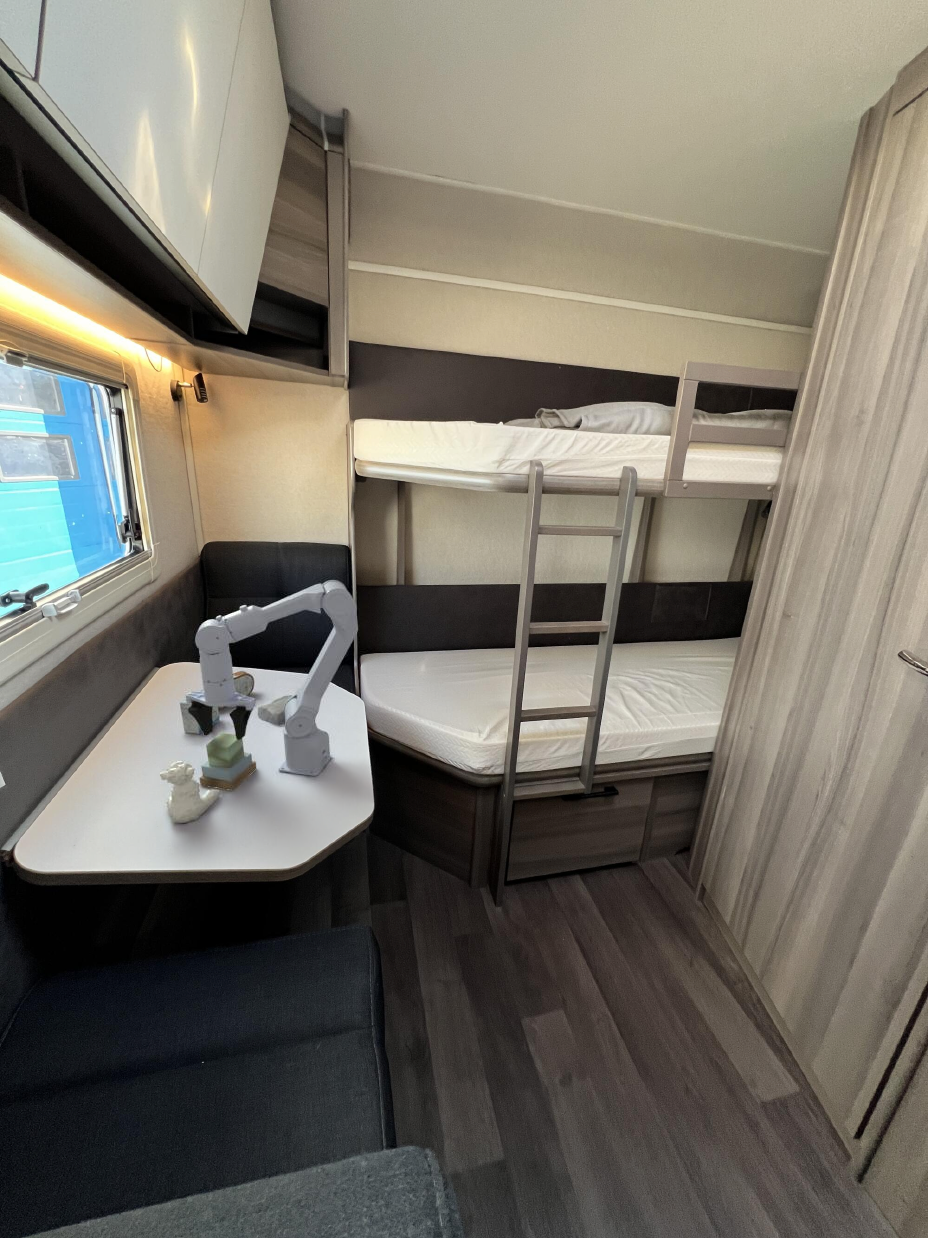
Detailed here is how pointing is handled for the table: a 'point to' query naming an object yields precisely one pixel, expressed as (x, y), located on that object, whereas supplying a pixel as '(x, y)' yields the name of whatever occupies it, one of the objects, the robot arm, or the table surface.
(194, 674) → the table surface
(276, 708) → the stone block
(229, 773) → the slate blue slab
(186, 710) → the medicine box
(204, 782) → the walnut slab
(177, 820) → the seated beast figurine
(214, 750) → the green cube
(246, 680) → the tin
